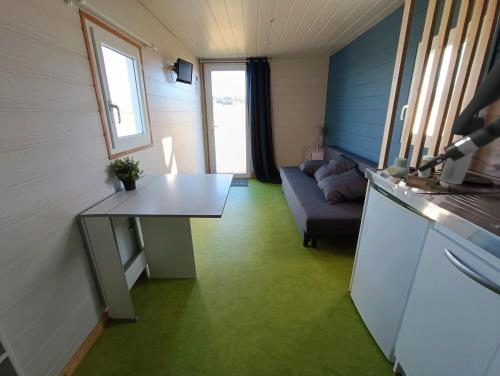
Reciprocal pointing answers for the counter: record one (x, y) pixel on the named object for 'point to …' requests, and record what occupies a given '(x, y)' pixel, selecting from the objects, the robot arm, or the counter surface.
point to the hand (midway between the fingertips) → (420, 169)
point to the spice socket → (423, 183)
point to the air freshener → (398, 168)
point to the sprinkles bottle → (426, 172)
